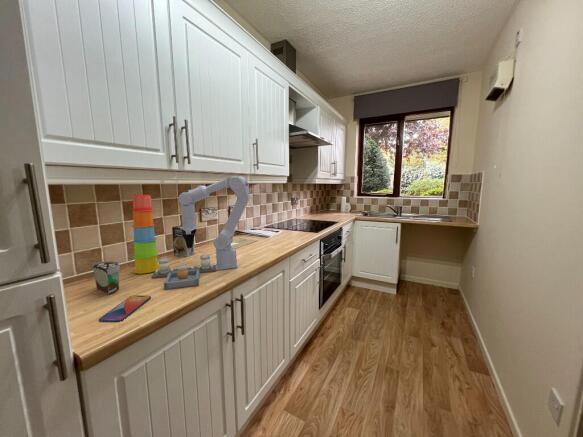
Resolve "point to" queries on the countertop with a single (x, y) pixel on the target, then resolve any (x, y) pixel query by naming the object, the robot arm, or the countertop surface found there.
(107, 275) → the food container
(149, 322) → the countertop surface
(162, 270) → the ball
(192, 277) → the tray
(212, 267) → the board
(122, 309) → the smartphone
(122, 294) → the countertop surface
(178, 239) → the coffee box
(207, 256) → the cylinder
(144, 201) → the stacking cups
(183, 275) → the marked fuse
